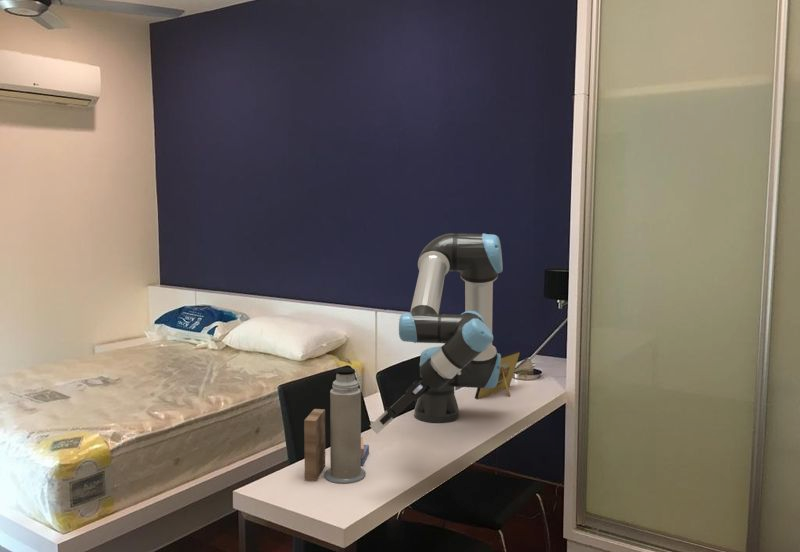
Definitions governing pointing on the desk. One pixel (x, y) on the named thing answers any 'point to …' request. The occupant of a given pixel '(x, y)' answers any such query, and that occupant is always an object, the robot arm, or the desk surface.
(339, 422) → the thermos bottle
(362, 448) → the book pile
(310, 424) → the bookend
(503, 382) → the picture frame
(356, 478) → the coaster
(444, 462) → the desk surface
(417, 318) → the robot arm
